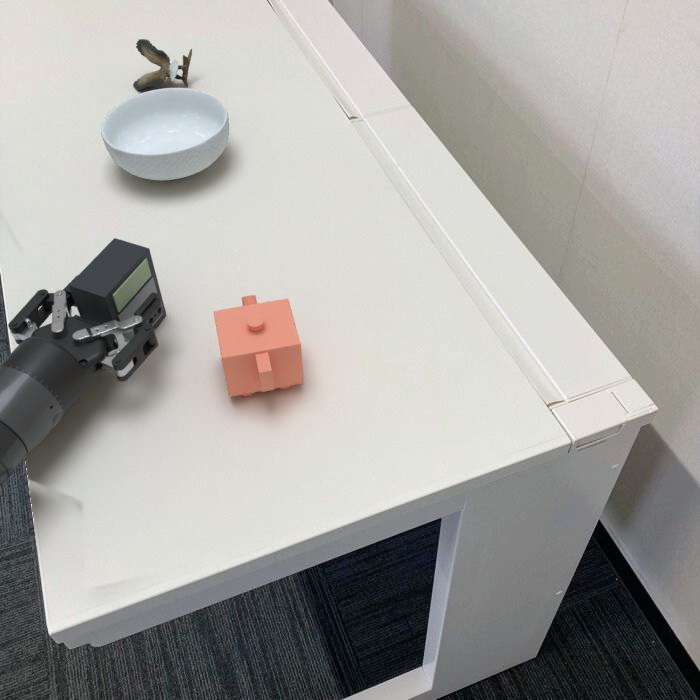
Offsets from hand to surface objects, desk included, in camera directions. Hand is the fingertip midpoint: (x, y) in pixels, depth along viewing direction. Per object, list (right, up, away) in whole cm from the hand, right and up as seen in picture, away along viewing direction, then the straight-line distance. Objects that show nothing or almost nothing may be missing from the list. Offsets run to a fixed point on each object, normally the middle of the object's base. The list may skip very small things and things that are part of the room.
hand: (124, 287), depth 83 cm
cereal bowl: (-1, +19, +26) cm, 32 cm away
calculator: (0, -5, +4) cm, 6 cm away
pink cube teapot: (+15, -9, 0) cm, 17 cm away
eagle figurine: (-5, +36, +40) cm, 54 cm away
